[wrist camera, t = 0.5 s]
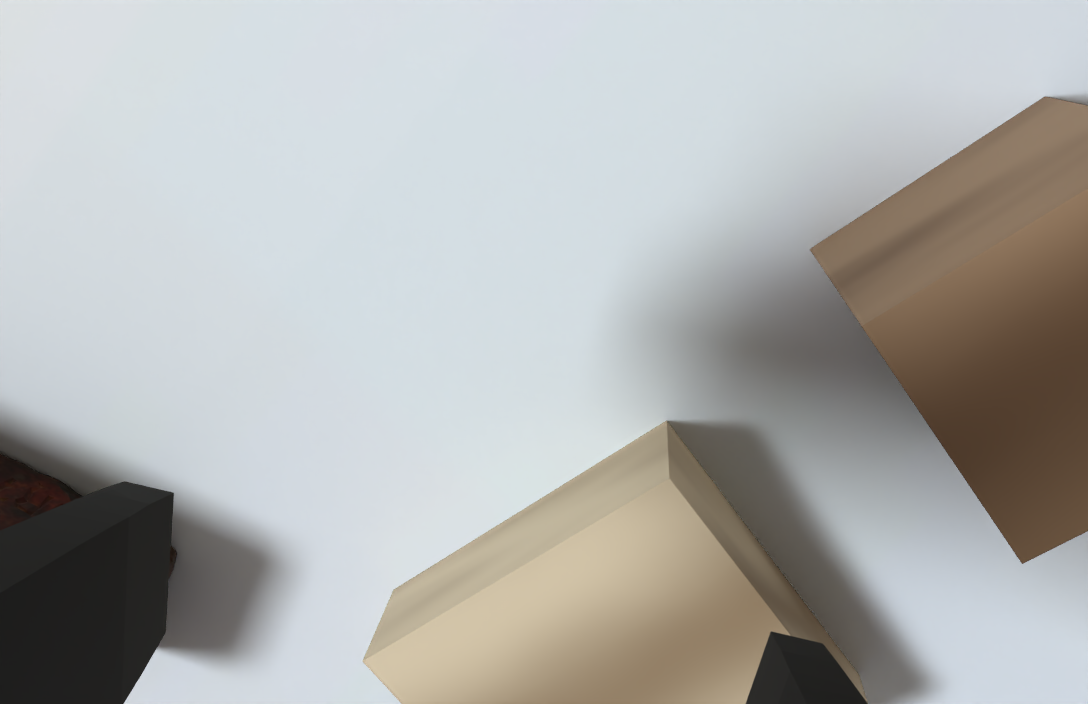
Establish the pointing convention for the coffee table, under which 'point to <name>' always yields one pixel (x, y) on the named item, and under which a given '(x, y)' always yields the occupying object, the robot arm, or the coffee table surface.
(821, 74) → the coffee table surface
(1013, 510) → the walnut cube
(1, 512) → the brick
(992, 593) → the coffee table surface
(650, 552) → the oak base
